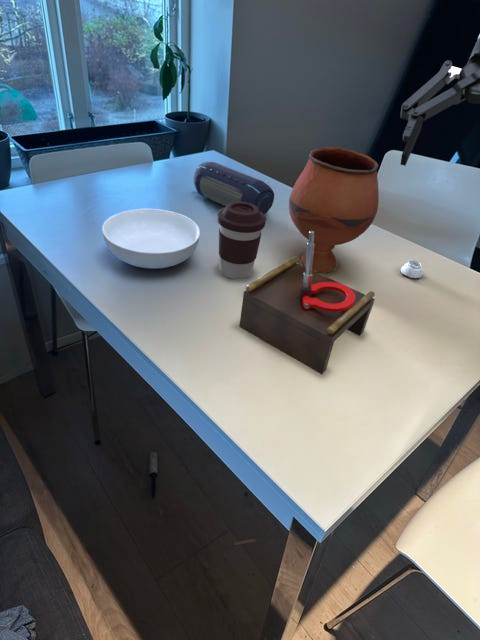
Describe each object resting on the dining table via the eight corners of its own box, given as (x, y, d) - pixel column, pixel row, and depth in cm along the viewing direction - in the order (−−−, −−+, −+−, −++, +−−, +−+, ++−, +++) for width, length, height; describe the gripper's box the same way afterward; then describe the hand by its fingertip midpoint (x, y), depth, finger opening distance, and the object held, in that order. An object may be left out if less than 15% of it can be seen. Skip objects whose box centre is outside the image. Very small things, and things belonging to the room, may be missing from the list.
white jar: (399, 266, 109) (400, 276, 105) (403, 256, 107) (404, 266, 103) (420, 271, 108) (422, 281, 104) (424, 260, 107) (426, 270, 103)
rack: (363, 332, 86) (377, 291, 80) (321, 375, 75) (334, 331, 70) (286, 294, 94) (294, 254, 88) (238, 327, 83) (244, 284, 78)
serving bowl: (115, 287, 90) (113, 257, 85) (96, 239, 104) (94, 211, 100) (212, 273, 98) (214, 245, 93) (182, 231, 112) (182, 205, 108)
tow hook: (351, 287, 81) (299, 286, 82) (362, 221, 74) (305, 220, 74) (357, 314, 75) (302, 313, 75) (370, 245, 67) (308, 243, 67)
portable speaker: (186, 195, 130) (187, 161, 124) (210, 188, 137) (212, 155, 131) (253, 226, 119) (257, 189, 113) (275, 216, 125) (280, 181, 119)
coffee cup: (233, 288, 94) (240, 222, 85) (204, 267, 99) (208, 203, 90) (266, 275, 99) (277, 212, 90) (237, 256, 105) (244, 195, 96)
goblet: (292, 286, 97) (315, 172, 82) (270, 244, 111) (286, 141, 96) (372, 284, 101) (409, 175, 86) (340, 243, 116) (367, 144, 101)
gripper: (586, 79, 66) (535, 207, 64) (415, 52, 74) (366, 164, 72) (612, 38, 59) (557, 180, 57) (421, 12, 67) (366, 136, 65)
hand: (450, 172), depth 64 cm, fingers open, 13 cm apart
